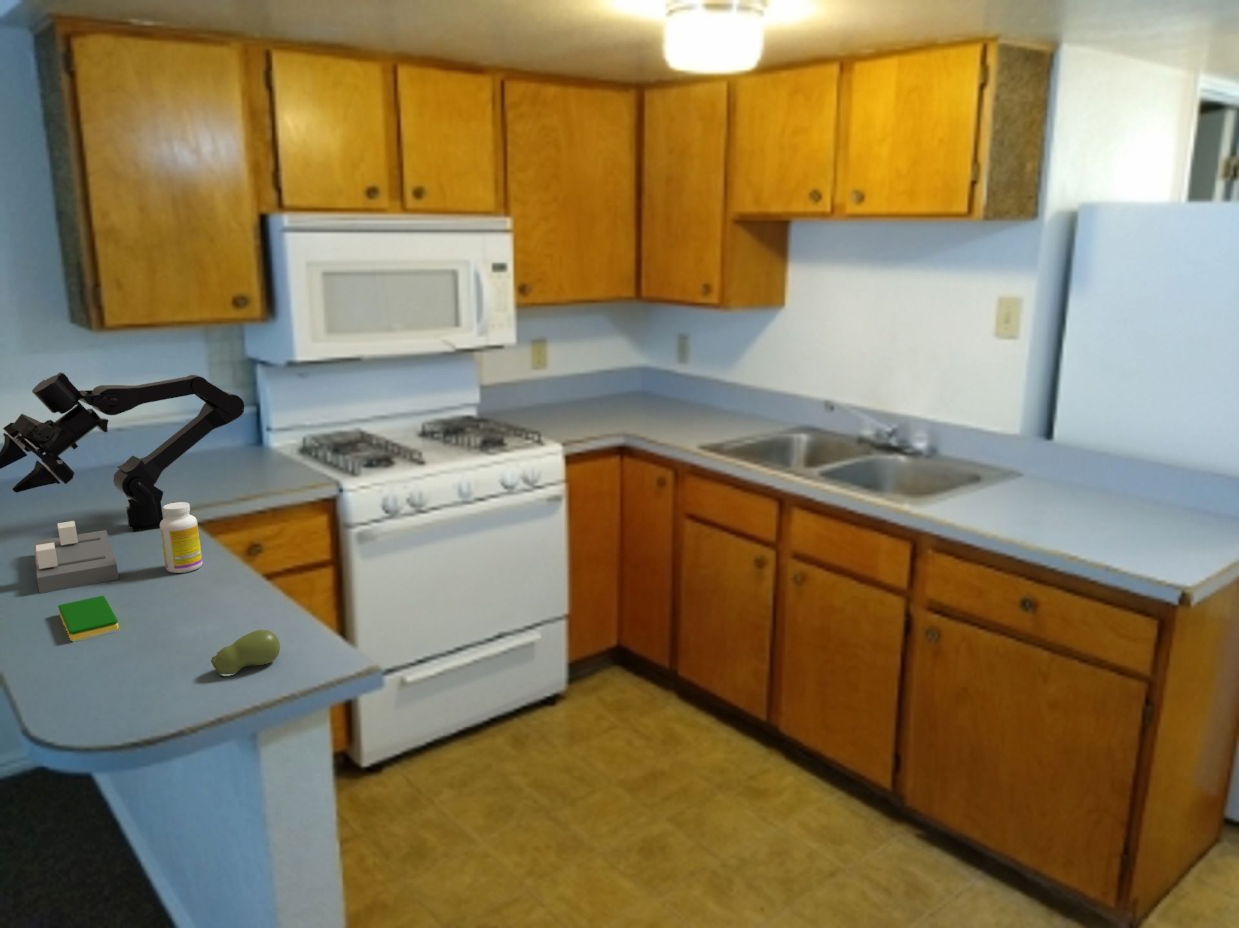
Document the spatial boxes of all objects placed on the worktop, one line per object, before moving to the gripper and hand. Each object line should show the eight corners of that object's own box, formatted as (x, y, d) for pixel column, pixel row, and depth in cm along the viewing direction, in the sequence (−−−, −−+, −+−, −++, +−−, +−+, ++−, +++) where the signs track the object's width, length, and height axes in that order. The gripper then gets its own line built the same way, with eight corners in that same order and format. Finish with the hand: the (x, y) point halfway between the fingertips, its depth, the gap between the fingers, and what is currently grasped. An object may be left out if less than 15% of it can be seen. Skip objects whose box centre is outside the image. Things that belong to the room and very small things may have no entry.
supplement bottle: (210, 565, 188) (202, 502, 185) (182, 576, 182) (174, 512, 179) (186, 560, 191) (178, 498, 187) (158, 571, 185) (149, 508, 181)
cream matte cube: (77, 537, 194) (74, 520, 193) (78, 542, 191) (75, 526, 190) (60, 539, 193) (57, 523, 192) (60, 545, 189) (58, 528, 188)
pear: (279, 632, 144) (212, 659, 139) (288, 661, 146) (222, 690, 141) (268, 619, 149) (203, 645, 143) (277, 648, 150) (213, 675, 145)
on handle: (56, 559, 181) (54, 542, 180) (57, 565, 178) (54, 548, 177) (38, 562, 180) (35, 545, 179) (39, 569, 176) (36, 551, 176)
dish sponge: (71, 645, 154) (69, 631, 153) (60, 617, 165) (57, 604, 164) (120, 633, 158) (118, 620, 157) (105, 607, 169) (103, 594, 168)
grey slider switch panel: (108, 543, 201) (106, 529, 200) (118, 578, 181) (116, 563, 180) (36, 555, 194) (34, 540, 193) (39, 593, 174) (36, 577, 173)
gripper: (22, 385, 195) (-47, 435, 188) (71, 424, 187) (1, 478, 180) (53, 420, 204) (-12, 468, 197) (101, 458, 196) (35, 510, 189)
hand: (2, 480), depth 191 cm, fingers open, 9 cm apart
